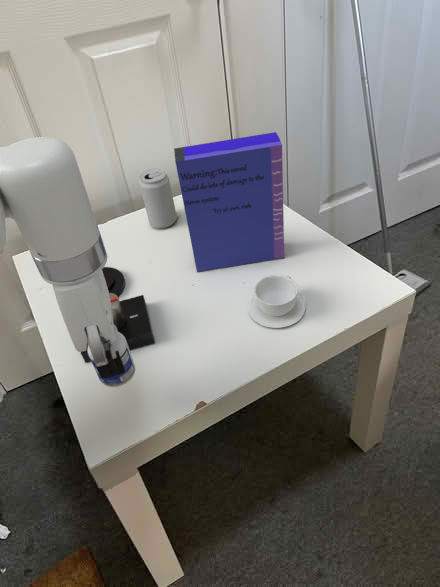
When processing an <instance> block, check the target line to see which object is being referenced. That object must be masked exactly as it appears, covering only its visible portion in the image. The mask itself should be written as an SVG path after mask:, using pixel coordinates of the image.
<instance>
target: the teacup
mask: <svg viewBox="0 0 440 587" xmlns="http://www.w3.org/2000/svg"><path fill="white" fill-rule="evenodd" d="M253 293H254V294H253V295H252V297H251V298H250V300H249V302H248V305H247V310H248V314H249V316H250V318H251V319H252V320H253V321H254V322H255V323H257V324H259V325H261V326H263V327H267V328H273V329H279V328H280V329H281V328H286V327H289V326H292V325H294V324H295V323H297V322H299V321H300V320H301V319H302V318H303V317H304V315H305V313H306V306H307V305H306V302H305V300H304V298H303V297H302V295H301V294H299V287H298V284H297V282H296V281H295V280H293V278H292V277H291V276H288V275H282V274H271V275H268V276H265V277H263V278H261V279H259V280H258V281H257V283H256V284H255V286H254V288H253Z"/></svg>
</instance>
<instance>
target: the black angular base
mask: <svg viewBox="0 0 440 587" xmlns="http://www.w3.org/2000/svg"><path fill="white" fill-rule="evenodd" d="M119 301H120V304H121V306H122V309H123V312H124V314H125V317H126V322H125V324H124V326H123V327H122V328H120V329H119V330H118V332H120V333H121V334H122V335H123V336H124V337H125V339H126V341H127V344H128V347H129V350H130V351H132V350H136V349H139V348H142V347H143V348H144V347H146V346H149V345H153V344H156V340H155V336H154V332H153V328H152V323H151V319H150V314H149V309H148V305H147V301H146V298H145V296H144V294H141V295H138V296H137V295H136V296H133V297H130V298H126V299H122V300H119ZM87 349H88V343H87ZM87 349H86V351H82V352H80V355H81V357H82V359H83V361H84V363H90V362H91V360H90V357H89V355H88V350H87Z"/></svg>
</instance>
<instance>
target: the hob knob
mask: <svg viewBox="0 0 440 587" xmlns="http://www.w3.org/2000/svg"><path fill="white" fill-rule="evenodd" d="M109 296H110V301H111V307H112V314H113V318H114V321H115V324H116V327H117V330H119V329H120V328H122V327H123V326H124V324H125V322H126V317H125V314H124V312H123V309H122V306H121V304H120V301H121V300H120V299H119V296H117V295H115V294H113V293H109Z"/></svg>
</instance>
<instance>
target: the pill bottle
mask: <svg viewBox="0 0 440 587" xmlns="http://www.w3.org/2000/svg"><path fill="white" fill-rule="evenodd" d="M114 330H115V341H114V342H113V344H114V347H115V350H116V351H118V352H119V354H120V357H121V360H122V362H123V365H124V368H125V372H124V373H123V374H119V375H116V376H112V377H108V378H104V379H103V378H101V376H100V374H99V372H98V370H97V367H96V365H95V363H94V361H93V357H92V354H91V351H90V348H89V345H88V349H87V350H88V355H89V357H90V360H91V361H90V362H91V364H92V366H93V368H94V370H95V372H96V375H97V377H98V379H99V382H100V383H101V384H102V385H103V386H104V387H105V386H106V387H108V388H120V387H123V386H125V385H127V384H128V383H129V382H130V381H131V380H132V379H133V378H134V376H135V374H136V364H135V361H134V359H133V355H132V353H131V350H129V347H128V344H127V341H126V339H125V337H124V336H123V335H122V334H121V333H120V332H118V330H117V328H116V326H115V325H114ZM100 335H101V334H100ZM103 347H104V350H105V351H107V350H110V349H109V346H108V343H105V344H103Z"/></svg>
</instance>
